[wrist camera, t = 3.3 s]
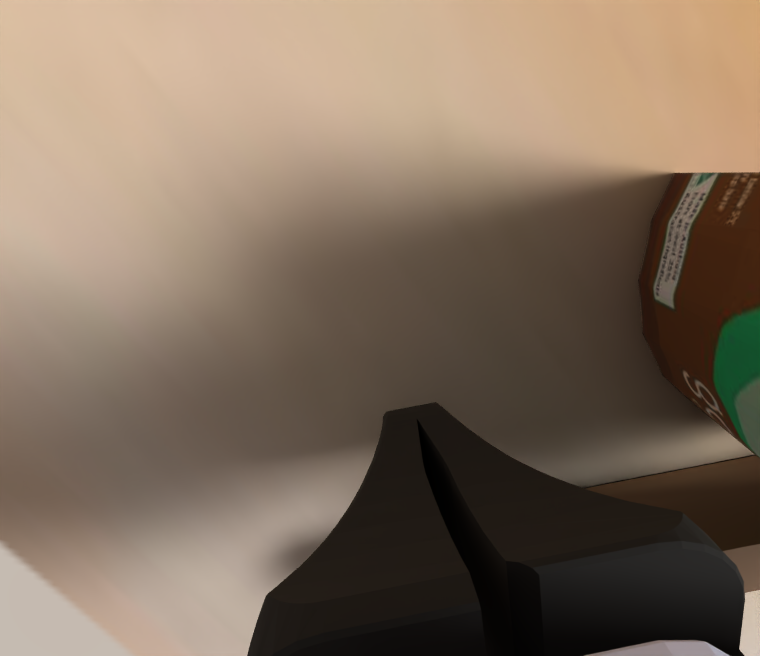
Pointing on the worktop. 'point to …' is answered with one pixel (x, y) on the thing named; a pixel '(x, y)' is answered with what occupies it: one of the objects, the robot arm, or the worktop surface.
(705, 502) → the rail
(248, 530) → the worktop surface
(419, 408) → the robot arm
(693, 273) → the food container
